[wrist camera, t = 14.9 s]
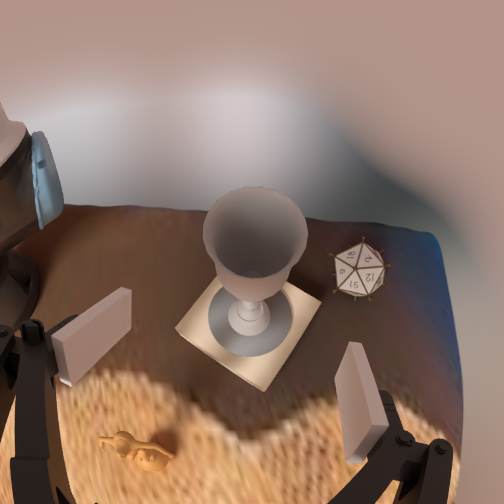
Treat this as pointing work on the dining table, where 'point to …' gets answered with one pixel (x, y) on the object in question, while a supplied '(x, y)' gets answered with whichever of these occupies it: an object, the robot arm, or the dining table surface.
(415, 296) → the dining table surface
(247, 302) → the chalice
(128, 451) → the figurine
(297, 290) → the pedestal
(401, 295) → the dining table surface
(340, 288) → the game die
